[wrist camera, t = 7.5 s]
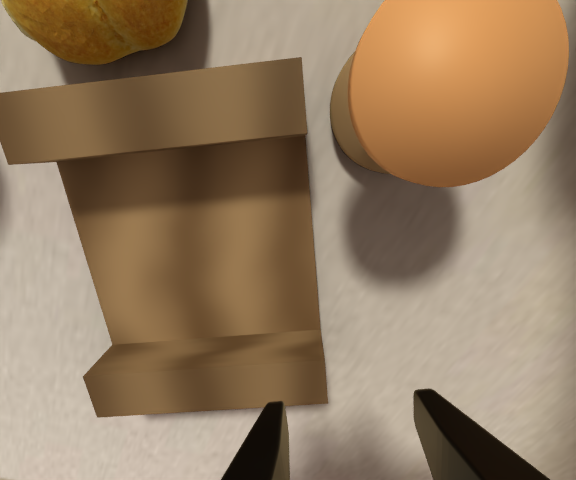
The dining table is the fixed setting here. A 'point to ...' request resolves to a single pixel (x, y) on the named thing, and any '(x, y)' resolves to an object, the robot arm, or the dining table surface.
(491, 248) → the dining table surface
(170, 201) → the notch board
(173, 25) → the bread roll
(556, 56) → the orange capped knob
